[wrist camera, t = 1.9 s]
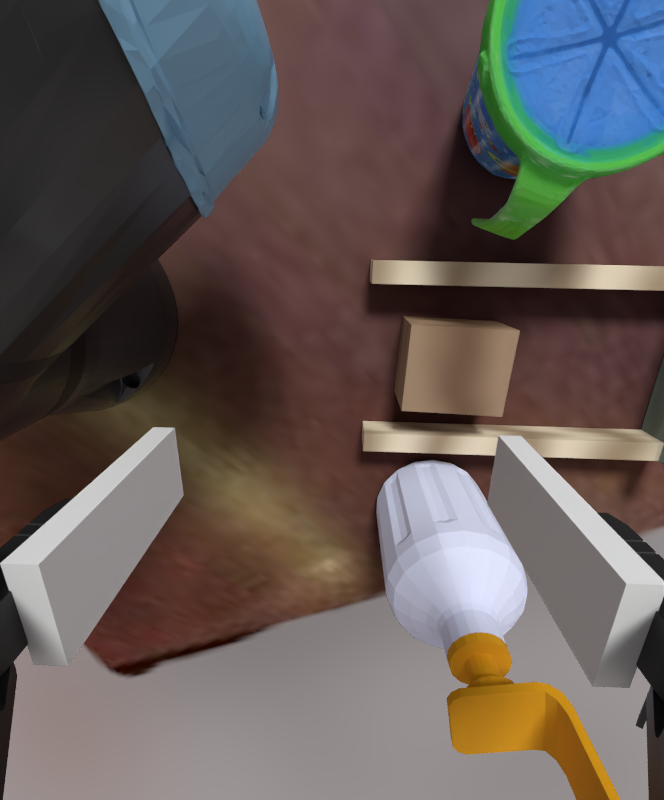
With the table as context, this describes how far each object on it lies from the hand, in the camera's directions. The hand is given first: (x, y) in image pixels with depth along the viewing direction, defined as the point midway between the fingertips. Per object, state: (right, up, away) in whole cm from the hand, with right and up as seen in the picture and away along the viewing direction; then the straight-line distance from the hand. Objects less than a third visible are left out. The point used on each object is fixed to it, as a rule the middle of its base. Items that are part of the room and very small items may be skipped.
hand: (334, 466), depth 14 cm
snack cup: (+12, +21, +12) cm, 27 cm away
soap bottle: (+8, -7, +21) cm, 24 cm away
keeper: (+9, +6, +17) cm, 20 cm away
